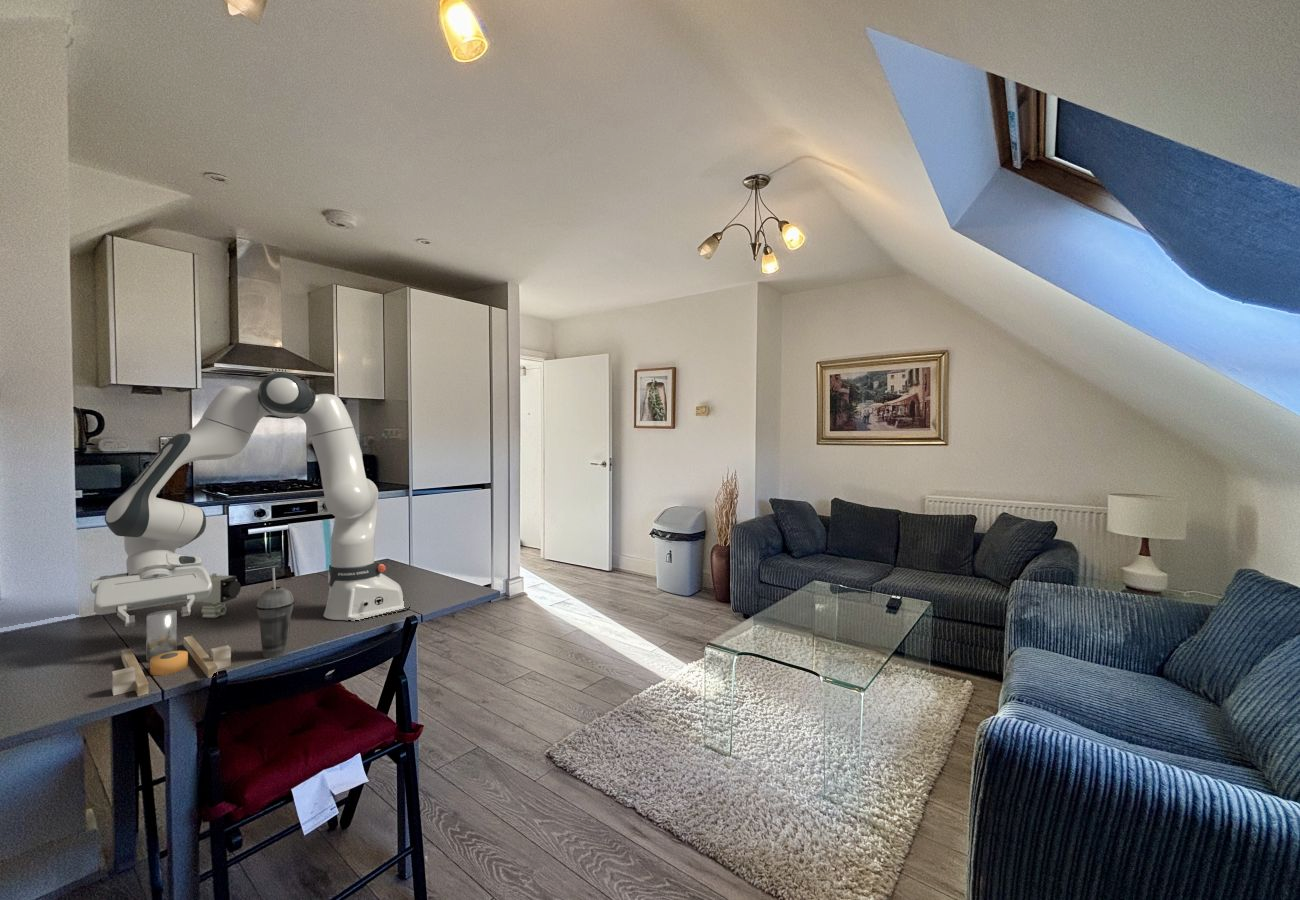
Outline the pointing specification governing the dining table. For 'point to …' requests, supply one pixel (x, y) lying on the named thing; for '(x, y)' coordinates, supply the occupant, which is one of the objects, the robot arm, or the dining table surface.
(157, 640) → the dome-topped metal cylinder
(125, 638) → the dining table surface
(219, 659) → the guide track
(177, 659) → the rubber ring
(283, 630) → the beverage cup
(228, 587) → the pneumatic valve
